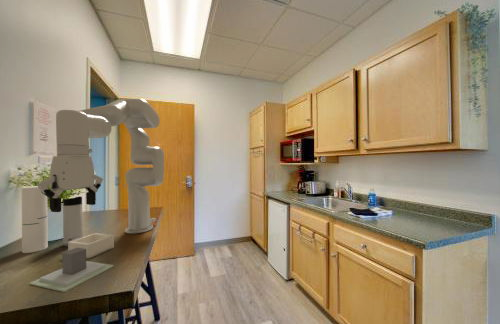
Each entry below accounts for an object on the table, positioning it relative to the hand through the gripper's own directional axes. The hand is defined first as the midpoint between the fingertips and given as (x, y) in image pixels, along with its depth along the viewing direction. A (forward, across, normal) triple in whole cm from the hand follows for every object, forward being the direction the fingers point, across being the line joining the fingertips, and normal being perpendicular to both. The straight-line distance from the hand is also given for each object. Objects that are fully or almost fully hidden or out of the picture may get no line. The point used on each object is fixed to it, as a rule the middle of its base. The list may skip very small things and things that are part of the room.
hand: (74, 207), depth 63 cm
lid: (+20, 0, 0) cm, 20 cm away
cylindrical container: (+21, -9, -37) cm, 43 cm away
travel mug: (+21, -17, -28) cm, 39 cm away
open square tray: (+20, -13, -12) cm, 27 cm away
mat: (+20, +1, 0) cm, 20 cm away
